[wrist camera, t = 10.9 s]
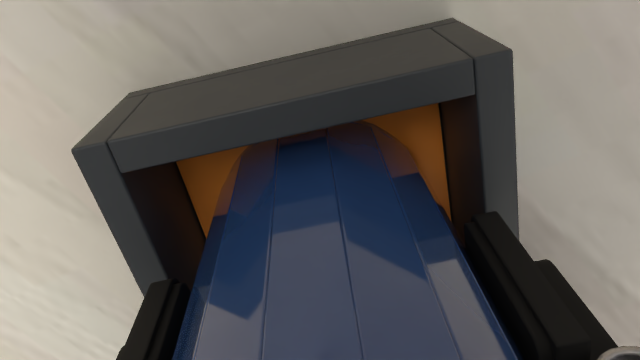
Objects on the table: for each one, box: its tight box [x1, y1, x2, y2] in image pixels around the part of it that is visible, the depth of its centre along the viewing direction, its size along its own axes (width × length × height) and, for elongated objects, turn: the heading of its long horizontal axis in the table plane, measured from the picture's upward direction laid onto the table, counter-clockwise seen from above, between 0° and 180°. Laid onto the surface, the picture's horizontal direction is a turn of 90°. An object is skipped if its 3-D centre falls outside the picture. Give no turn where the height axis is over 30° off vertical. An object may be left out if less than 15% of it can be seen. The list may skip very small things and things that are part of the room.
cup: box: [172, 120, 526, 360], centre depth 11 cm, size 6×6×9 cm
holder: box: [71, 18, 519, 298], centre depth 16 cm, size 9×18×4 cm, turn 12°
